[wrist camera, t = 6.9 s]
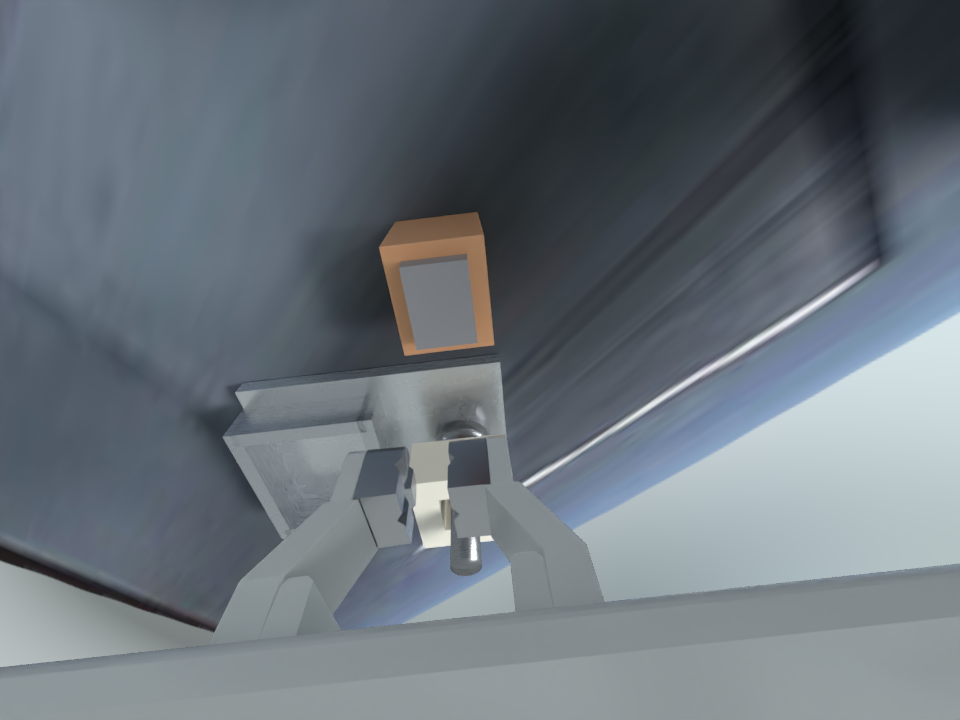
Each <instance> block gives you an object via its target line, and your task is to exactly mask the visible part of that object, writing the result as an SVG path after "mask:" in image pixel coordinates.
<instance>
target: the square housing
mask: <svg viewBox="0 0 960 720" xmlns="http://www.w3.org/2000/svg"><path fill="white" fill-rule="evenodd" d="M497 435H504V434H495V435H486V436H478V437H469V438H460V439H451V440H442V441H433V442H425V443H416V444H412V448H411V455H410V462H409V467H411V468H412V469H413V470H414V474H415V479H416V505H415V506H414V508H413V510H414V514H415V517H416V520H417V524H418V527H419V531H420V534H421V538H422V541H423V545H424V548H432V547H441V546H450V545H451V504H450V499H449V494H448V489H447V482H448V465H449V464H450V459H449V454H448V446H449V442H450V441H458V440H466V439H475V438H483V437H486V440H487V437H489V436H497ZM486 541H494V540H493V538H492V537H491V535H490V536H480V542H486Z"/></svg>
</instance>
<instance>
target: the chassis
mask: <svg viewBox="0 0 960 720" xmlns="http://www.w3.org/2000/svg"><path fill="white" fill-rule="evenodd" d="M235 394H236V396H237V398H238V399H239V401H240V403H241V405H242V407H243V410H242V412H241V413H240V414H239V416H238V417H237V418H236V420H235V421H234V422H233V424H232V425H231V426H230V427H229V429H228V430H227V431H226V433H225V434H224V435H223V439H224V441H225V442H226V444H227V446H228V448H229V449H230V451H231V453H232V454H233V456H234V458H235V459H236V461H237V463H238V465H239V466H240V468H241V470H242V471H243V473H244V475H245V477H246V478H247V480H248V482H249V483H250V485H251V487H252V488H253V490H254V492H255V494H256V495H257V497H258V499H259V500H260V502H261V504H262V505H263V507H264V509H265V511H266V512H267V514H268V516H269V517H270V519H271V521H272V523H273V524H274V526H275V528H276V529H277V531H278V533H279V534H280V536H281V538H282V539H285V538H287V537H288V536H289V535H290V534H291V533H292V532H293V531H294V530H295V529H296V528H297V527H299V526H300V525H301V524H302V523H303V522H304V521H305V520H306V519H307V518H308V517H309V516H310V515H311V514H313V513H314V512H315V511H316V510H317V509H318V508H319V507H320V506H321V505H322V504H323V503H329V502H330V500H331V497H332V494H333V491H334V488H335V485H336V482H337V480H338V477H339V474H340V471H341V468H342V465H343V462H344V459H345V457H346V455H347V454H348V453H349V452H354V451H366V450H372V449H384V448H395V447H406V448H407V449H408V452H409V455H411V448H412V444H416V443H425V442H433V441H442V440H451V439H460V438H469V437H478V436H486V435H495V434H505V436H506V427H505V415H504V404H503V392H502V380H501V369H500V360H499V355H498V354H492V355H484V356H475V357H466V358H457V359H449V360H440V361H431V362H422V363H414V364H405V365H396V366H387V367H379V368H370V369H361V370H352V371H344V372H335V373H326V374H317V375H309V376H300V377H291V378H282V379H274V380H265V381H256V382H247V383H242V385H241V386H240V387H239V388H238V389H237V390H236V392H235ZM409 462H410V461H409ZM481 567H482V562H481V545H480V536H478V537H466V538H458V536H457V531H456V527H455V523H454V510H453V509H452V508H451V547H450V569H451V571H452V572H453V573H455V574H457V575H461V576H469V575H473V574H475V573H477V572H479V571H480V569H481Z"/></svg>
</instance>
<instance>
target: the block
mask: <svg viewBox="0 0 960 720" xmlns="http://www.w3.org/2000/svg"><path fill="white" fill-rule="evenodd" d="M379 249H380V254H381V258H382V262H383V266H384V271H385V275H386V279H387V283H388V287H389V292H390V296H391V300H392V304H393V309H394V313H395V317H396V321H397V326H398V330H399V334H400V338H401V343H402V347H403V351H404V355H405V356H407V355H415V354H424V353H432V352H441V351H449V350H458V349H466V348H475V347H483V346H492V345H494V336H493V325H492V315H491V304H490V294H489V283H488V273H487V263H486V252H485V242H484V233H483V230H482V226H481V223H480V219H479V216H478V212H472V213H464V214H456V215H447V216H439V217H431V218H422V219H414V220H405V221H397V222H395V223H394V225H393V226H392V228H391V229H390V231H389V232H388V234H387V235H386V237H385V238H384V240H383V242H382V243H381V245H380V246H379Z"/></svg>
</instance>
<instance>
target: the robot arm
mask: <svg viewBox="0 0 960 720" xmlns="http://www.w3.org/2000/svg"><path fill="white" fill-rule="evenodd" d="M448 454H449V459H450V464H449V465H448V482H447V489H448V494H449V499H450V504H451V508H452V509H453V510H454V523H455V527H456V531H457V536H458V538H466V537H478V536H490V535H491V537H492V538H493V540H494V541H495V543H496V544H497V545H498V547H499V548H500V549H501V551H502V552H503V554H504V555H505V556H506V558H507V559H508V560H509V562H510V563H511V573H512V581H513V592H514V602H515V612H509V613H499V614H490V615H481V616H472V617H462V618H453V619H444V620H435V621H426V622H417V623H407V624H398V625H389V626H379V627H370V628H361V629H352V630H343V631H341V629H340V627H339V626H338V624H337V622H336V620H335V619H334V617H333V613H334V612H335V610H336V609H337V608H338V606H339V605H340V603H341V602H342V600H343V599H344V598H345V596H346V595H347V593H348V592H349V590H350V589H351V588H352V586H353V585H354V583H355V582H356V580H357V579H358V578H359V576H360V575H361V573H362V572H363V570H364V569H365V568H366V566H367V565H368V563H369V562H370V560H371V559H372V558H373V556H374V555H375V553H376V552H377V550H378V549H377V548H381V547H388V546H395V545H402V544H409V543H411V540H412V532H413V523H414V519H413V515H412V511H411V510H412V509H413V508H414V506H415V505H416V479H415V474H414V470H413V469H412V468H411V467H409V461H410V455H409V452H408V449H407V448H406V447H395V448H384V449H372V450H366V451H354V452H349V453H348V454H347V455H346V457H345V459H344V462H343V465H342V468H341V471H340V474H339V477H338V480H337V482H336V485H335V488H334V491H333V494H332V497H331V500H330V502H329V503H323V504H322V505H321V506H320V507H319V508H318V509H317V510H316V511H315V512H314V513H313V514H311V515H310V516H309V517H308V518H307V519H306V520H305V521H304V522H303V523H302V524H301V525H300V526H299V527H297V528H296V529H295V530H294V531H293V532H292V533H291V534H290V535H289V536H288V537H287V538H286V539H285V540H283V541H282V542H281V543H280V544H279V545H278V546H277V547H276V548H275V549H274V550H273V551H272V552H270V553H269V554H268V555H267V556H266V557H265V558H264V559H263V560H262V561H261V562H260V563H259V564H258V565H256V566H255V567H254V568H253V569H252V570H251V571H250V572H249V573H248V574H247V575H246V576H245V577H244V578H242V579H241V580H240V581H239V583H238V585H237V587H236V589H235V592H234V594H233V596H232V598H231V600H230V602H229V604H228V606H227V608H226V610H225V612H224V614H223V616H222V618H221V620H220V622H219V624H218V626H217V628H216V630H215V632H214V634H213V637H212V639H211V641H210V643H209V645H204V646H196V647H185V648H176V649H167V650H158V651H149V652H139V653H130V654H121V655H111V656H102V657H92V658H83V659H74V660H65V661H56V662H46V663H37V664H27V665H18V666H9V667H0V720H960V564H952V565H943V566H933V567H924V568H915V569H905V570H896V571H887V572H878V573H869V574H859V575H850V576H842V577H832V578H823V579H813V580H804V581H795V582H786V583H776V584H767V585H758V586H748V587H739V588H730V589H722V590H711V591H703V592H693V593H684V594H675V595H666V596H656V597H647V598H638V599H628V600H619V601H610V602H604V599H603V596H602V592H601V589H600V586H599V583H598V579H597V576H596V573H595V570H594V567H593V563H592V560H591V557H590V554H589V551H588V547H587V544H586V543H585V542H584V541H583V540H582V539H580V538H579V537H578V536H577V535H576V534H575V533H574V532H573V531H572V530H571V529H570V528H569V527H568V526H567V525H566V524H564V523H563V522H562V521H561V520H560V519H559V518H558V517H557V516H556V515H555V514H554V513H553V512H552V511H551V510H549V509H548V508H547V507H546V506H545V505H544V504H543V503H542V502H541V501H540V500H539V499H538V498H537V497H536V496H534V495H533V494H532V493H531V492H530V491H529V490H528V489H527V488H526V487H525V486H524V485H523V484H522V483H521V482H519V481H518V482H513V475H512V469H511V463H510V457H509V450H508V444H507V438H506V436H505V434H504V435H497V436H489V437H487V440H486V437H483V438H475V439H466V440H458V441H450V442H449V446H448Z"/></svg>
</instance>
